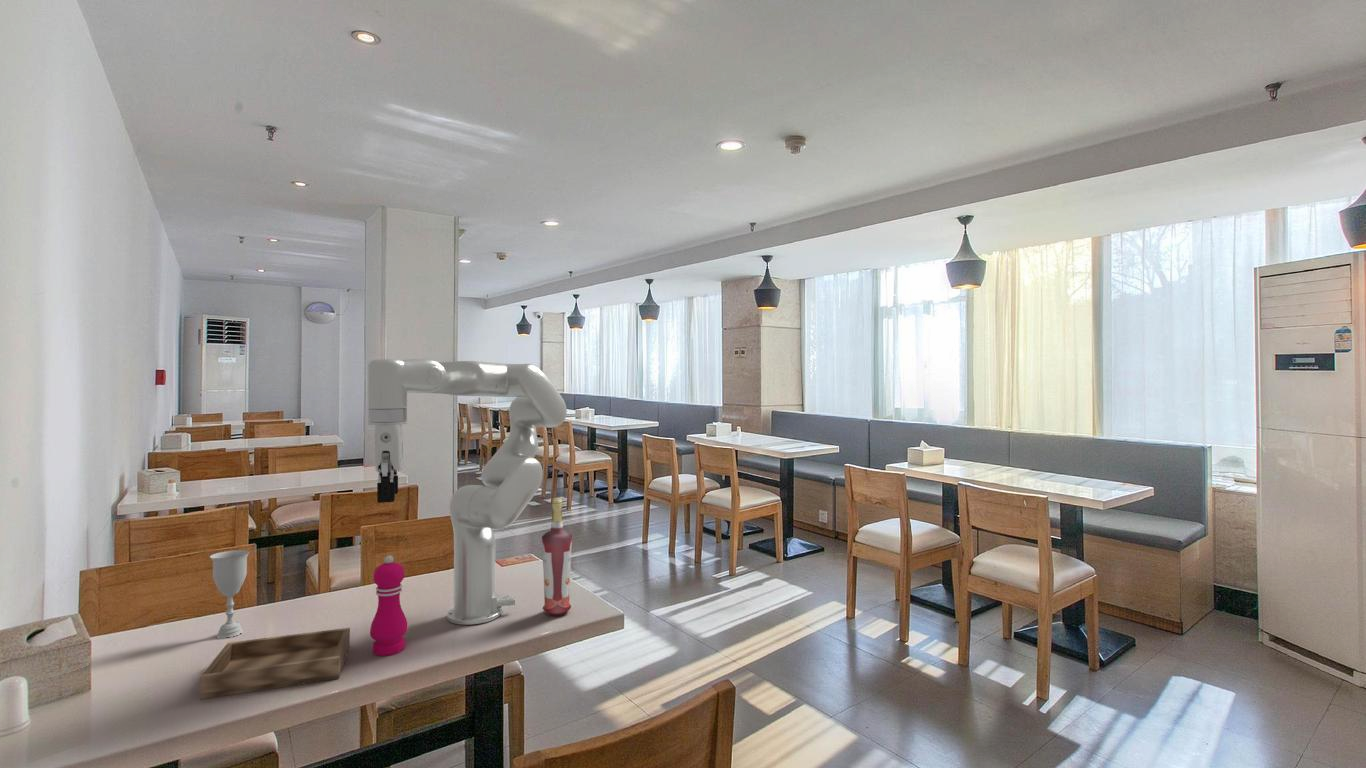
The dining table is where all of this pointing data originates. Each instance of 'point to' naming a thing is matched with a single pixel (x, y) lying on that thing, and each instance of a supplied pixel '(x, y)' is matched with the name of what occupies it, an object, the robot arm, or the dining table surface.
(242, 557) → the chalice
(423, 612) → the dining table surface
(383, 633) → the pepper mill
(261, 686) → the serving tray
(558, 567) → the liquor
